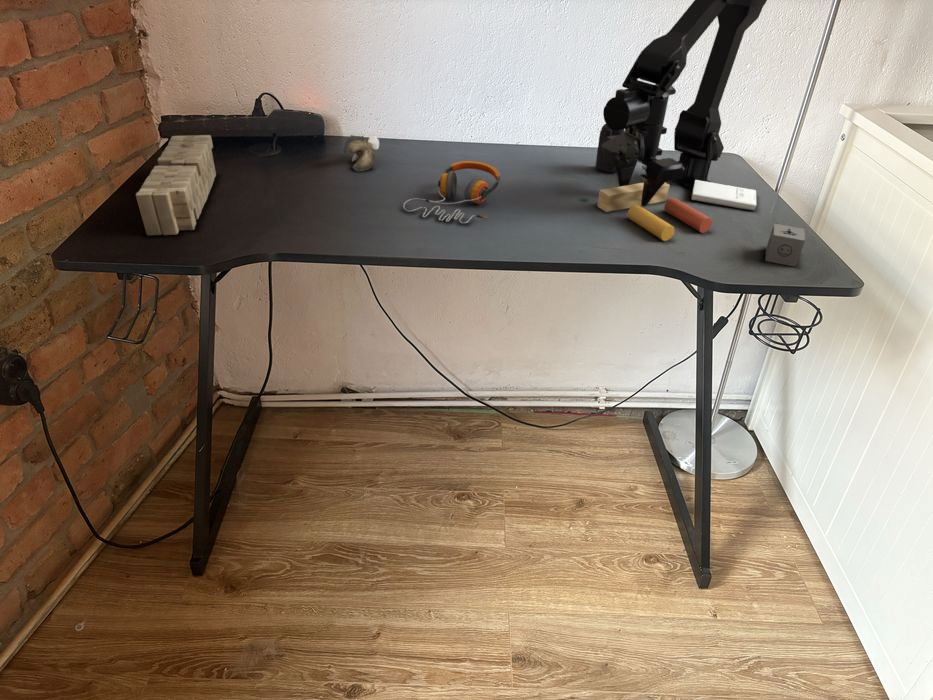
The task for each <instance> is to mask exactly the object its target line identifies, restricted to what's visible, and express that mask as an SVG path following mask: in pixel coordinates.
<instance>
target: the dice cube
mask: <svg viewBox="0 0 933 700" xmlns="http://www.w3.org/2000/svg"><path fill="white" fill-rule="evenodd" d="M805 242H806V233H805V228H802V227H795V226H790V225H785V224H780V223H779V224H778V223H773V226H772V229H771V232H770V235H769V237H768V241H767V244H766V247H765V262H769V263H775V264H779V265H785V266H788V267H789V266H790V267H797V264H798V261H799V259H800V255H801V252H802V250H803V248H804V244H805Z"/></svg>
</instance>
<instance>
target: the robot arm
mask: <svg viewBox="0 0 933 700" xmlns="http://www.w3.org/2000/svg"><path fill="white" fill-rule="evenodd" d="M767 1H768V0H693V2H692V3H691V4H690V5H689V6H688V8H687V9H686V10H685V11H684V13H683V14H682V15H681V16H680V18H678V20H676V23H675V24H674V25H673V26H672V27H671V29H669V31H668V32H667V33H665V34H664V35H661V36H659V37H656V38H655V39H653V40H652V41H651V42H649V44H647V45H646V46H645V47H644V48H643V49H642V50H641V51H640V53H639V54H638V56H637V58H636V59H635V61H634V63H633V64H632V67H631V68H630V70H629V71H628V73H627V75H626V77H625V79H624V81H623V82H622V85H621V86H622V88H619V89H616V91H615V96H613V97H612V98H610V99H609V100H608V101H607V102H606V103H605V106H604V107H603V112H602V113H603V114H602V115H603V120H604V123H605V124H607V126H608V127H609V128H610V129H612V130H614V131H619V130H622V129H624V134H622V135H616V136H608V137H606V138H605V139H604V140H603V141H602V145H601V151H602V152H603V157H604V161H606V162H609V163H611V164H612V165H613V166H615V167H616V170H617V172H616V175H617V181H618V187H621V186H626V185H630V183H631V181H632V177H633V174H634V172H635V169H636V167H637V164H638V163H640V164H642V165H644V166H646V167H645V168H646V169H645V173H643V174H639V177H640V178H641V179H642V181H643V183H644V185H643V192H642V200H641V205H642V206H641V207H646V206H648V205H649V204H648V203H649V202H650V200H651V199H652V198H653V196H654V195H655V194H656V192H657V191H658V190H659V189H660V187H661V186H662V185H663V184H664V183H667V182H672V181H674V182H676V183H677V184H679V185H681V186H683V187H684V188H687V189H693V186H694V182H695V180H700V181H706V182H711V183H713V182H712V181H710V180H708V176H709V173H710V168H711V164H712V162H717V161H718V160H719V158H721V156H722V154H723V152H724V148H725V146H724V144H723V142H722V139H721V136H720V135H719V134H720V130H721V127H722V120H721V119H722V118H721V113H720V109H719V107H720V105H721V102H722V99H723V95H724V93H725V90H726V87H727V85H728V81H729V79H730V78H729V77H730V75H731V72H732V69H733V66H734V64H735V61H736V57H737V55H738V52H739V49H740V46H741V43H742V40H743V37H744V34H745V33H746V31H747V30H748V29H749V28H750V27H751V26H752V25H753V24H754V23H755V22H756V21H757V20H758V19H759V17H760V15H761V12H762V10H763V8H764V6H765V5H766V4H767ZM715 19H717V22H718V28H717V31H716V35H715V37H714V41H713V43H712V47H711V50H710V52H709V56H708V58H707V59H708V60H707V62H706V65H705V68H704V71H703V74H702V77H701V81H700V84H699V86H698V89H697V92H696V96H695V99H694V102H693V104H691V105H690V106H689V107H688V108H687V109H686V110H685V109H683V110H682V111H681V112H680V114H679V116H678V120H677V123H676V126H675V128H674V132H673V133H674V134H673V135H674V136H673V139H674V140H673V141H674V143H673V145H674V148H673V149H674V151H675V152H680V155H679V159H678V160H675V159H673V158H671V157H666V158H659V159H658V158H656V157H658V156H663V149H662V148H660V142H661V138H662V135H666V134H667V131H668V127H665V126H664V122H665V118H666V112H667V107H668V103H669V97H670V96H672V95H675V94H677V90H676V89H675V87H674V86H673V85H674V84H675V83H676V81H677V80H678V79H679V77H680V76H681V74H682V72H683V71H684V69H685V68H686V67H687V60H688V54H689V52H690V51H691V49H692V48H693V46H695V44H696V43H697V41H698V40H699V39H700V38H701V36H702V35H703V34H704V33H705V32H706V31H707V29H708V28H709V26H711V24H713V22H714V21H715ZM623 88H625V89H623ZM647 204H648V205H647Z"/></svg>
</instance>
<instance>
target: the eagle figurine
mask: <svg viewBox="0 0 933 700" xmlns="http://www.w3.org/2000/svg"><path fill="white" fill-rule="evenodd" d="M379 147H380V140H379V138H378V137H376V136H374V135H370V136H369V137H368V139H367V140H366V139H365V137H364V135H354V134H353V135H352V134H350V136H349V137H348V138H347V139H345V141H344V142H343V144H342V148H341V151H342V152H343V155H346V154H347V155H348V154H354V155H353V156H352V159H351V163H353V162H355V161H356V162H355V163H354V164H353V165H352V169H353V170H354V171H356V172H361V171H362V172H364V171H368V170H370V169H371V168H373V166H374V163H375V160H376V158H377V156H376V153H375V151H378V150H379ZM373 150H375V151H373Z"/></svg>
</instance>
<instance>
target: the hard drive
mask: <svg viewBox="0 0 933 700" xmlns="http://www.w3.org/2000/svg"><path fill="white" fill-rule="evenodd" d="M711 182H712V181H710V182H706V181H700V180H695V182H694V186H693V188H692V192H691V199H690V200H691V201H697V202H703V203H708V204H713V205H720V206H725V207H732V208H737V209H741V210H749V211H755V210H756V207H757V190H756V189H751V188H746V187H739V186H733V185H728V184H722V183H717V182H712V183H711Z"/></svg>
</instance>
